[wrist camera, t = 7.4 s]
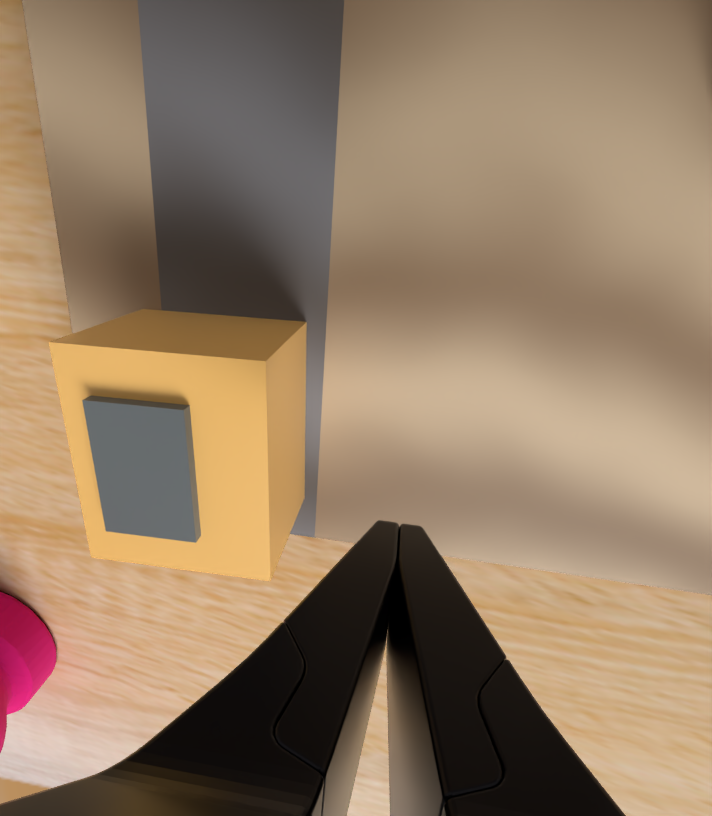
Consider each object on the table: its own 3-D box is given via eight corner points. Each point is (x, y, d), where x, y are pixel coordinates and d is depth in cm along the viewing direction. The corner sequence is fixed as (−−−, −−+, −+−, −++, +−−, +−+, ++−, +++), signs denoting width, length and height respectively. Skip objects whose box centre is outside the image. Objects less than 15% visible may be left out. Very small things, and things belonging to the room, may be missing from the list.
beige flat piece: (720, 577, 17) (738, 598, 16) (114, 491, 18) (98, 506, 18) (993, -4, 10) (1049, -24, 10) (42, -45, 12) (11, -65, 11)
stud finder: (304, 497, 16) (266, 589, 12) (163, 481, 17) (83, 564, 13) (306, 322, 14) (261, 365, 10) (143, 308, 14) (38, 345, 11)
